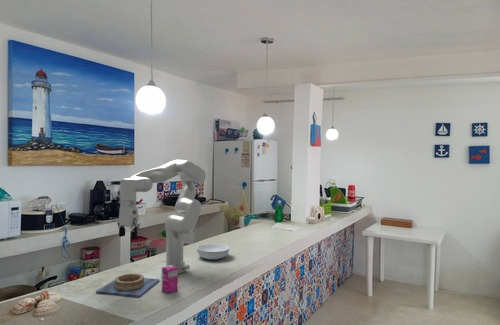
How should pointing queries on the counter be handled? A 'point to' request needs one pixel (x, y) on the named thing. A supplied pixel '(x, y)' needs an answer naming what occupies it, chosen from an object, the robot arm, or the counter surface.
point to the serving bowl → (212, 251)
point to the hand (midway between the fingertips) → (128, 237)
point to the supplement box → (169, 279)
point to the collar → (128, 285)
